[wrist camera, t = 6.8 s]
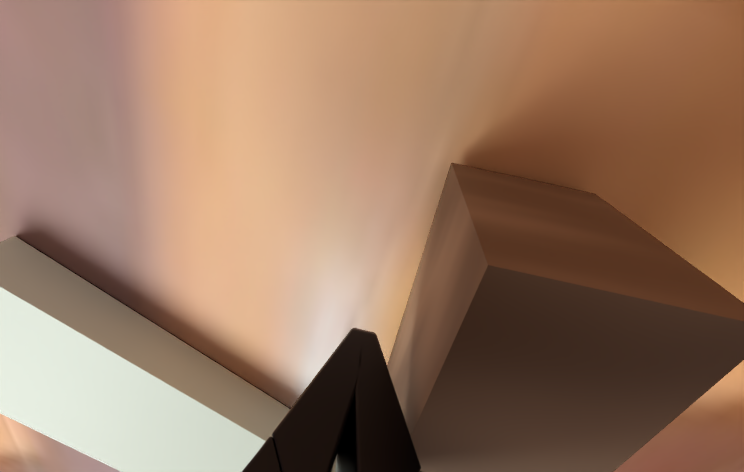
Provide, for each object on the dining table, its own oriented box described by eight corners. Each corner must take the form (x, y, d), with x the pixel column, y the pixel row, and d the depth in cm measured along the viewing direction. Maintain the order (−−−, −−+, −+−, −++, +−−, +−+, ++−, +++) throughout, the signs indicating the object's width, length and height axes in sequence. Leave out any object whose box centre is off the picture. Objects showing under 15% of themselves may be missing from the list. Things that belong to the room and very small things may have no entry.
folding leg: (434, 468, 16) (442, 631, 12) (359, 451, 17) (337, 606, 12) (593, 192, 9) (802, 346, 4) (451, 162, 9) (492, 278, 4)
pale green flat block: (382, 467, 17) (379, 507, 16) (282, 509, 22) (271, 544, 20) (14, 236, 12) (-44, 261, 11) (-23, 350, 17) (-68, 380, 15)
